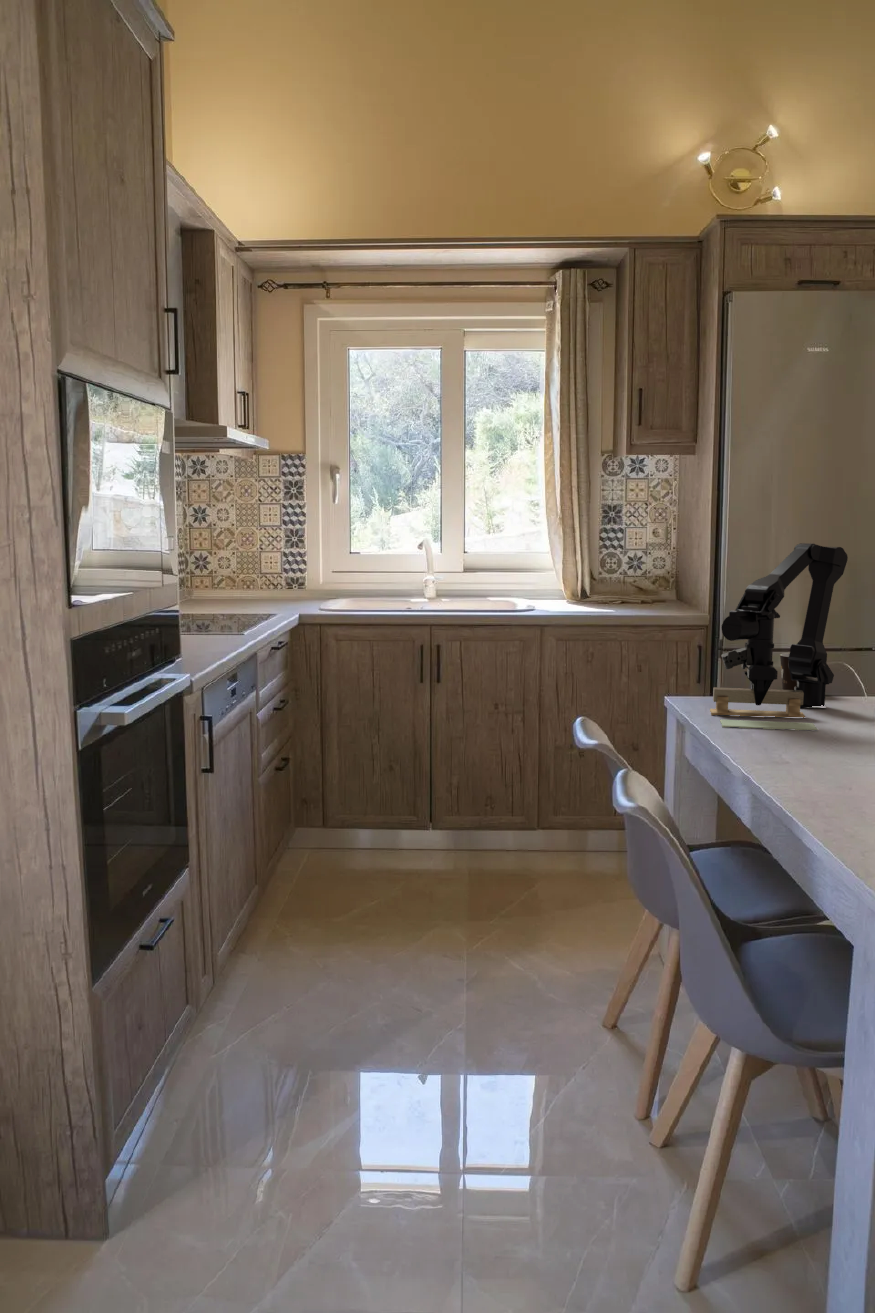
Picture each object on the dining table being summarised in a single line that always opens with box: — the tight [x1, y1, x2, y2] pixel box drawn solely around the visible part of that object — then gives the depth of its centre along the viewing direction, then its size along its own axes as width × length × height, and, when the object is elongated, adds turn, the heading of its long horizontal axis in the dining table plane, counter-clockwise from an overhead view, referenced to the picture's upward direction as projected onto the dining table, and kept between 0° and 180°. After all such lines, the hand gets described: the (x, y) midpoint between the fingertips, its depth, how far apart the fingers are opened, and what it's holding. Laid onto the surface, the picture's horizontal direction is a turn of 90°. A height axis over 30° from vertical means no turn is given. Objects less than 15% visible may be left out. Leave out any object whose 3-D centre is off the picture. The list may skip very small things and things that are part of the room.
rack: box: [709, 696, 807, 718], centre depth 236 cm, size 21×6×4 cm, turn 78°
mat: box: [719, 719, 819, 731], centre depth 223 cm, size 20×7×1 cm, turn 78°
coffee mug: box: [779, 652, 797, 690], centre depth 268 cm, size 12×9×10 cm
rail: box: [712, 686, 804, 706], centre depth 236 cm, size 20×3×3 cm, turn 78°
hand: (757, 704), depth 236 cm, fingers closed on rail, 3 cm apart
